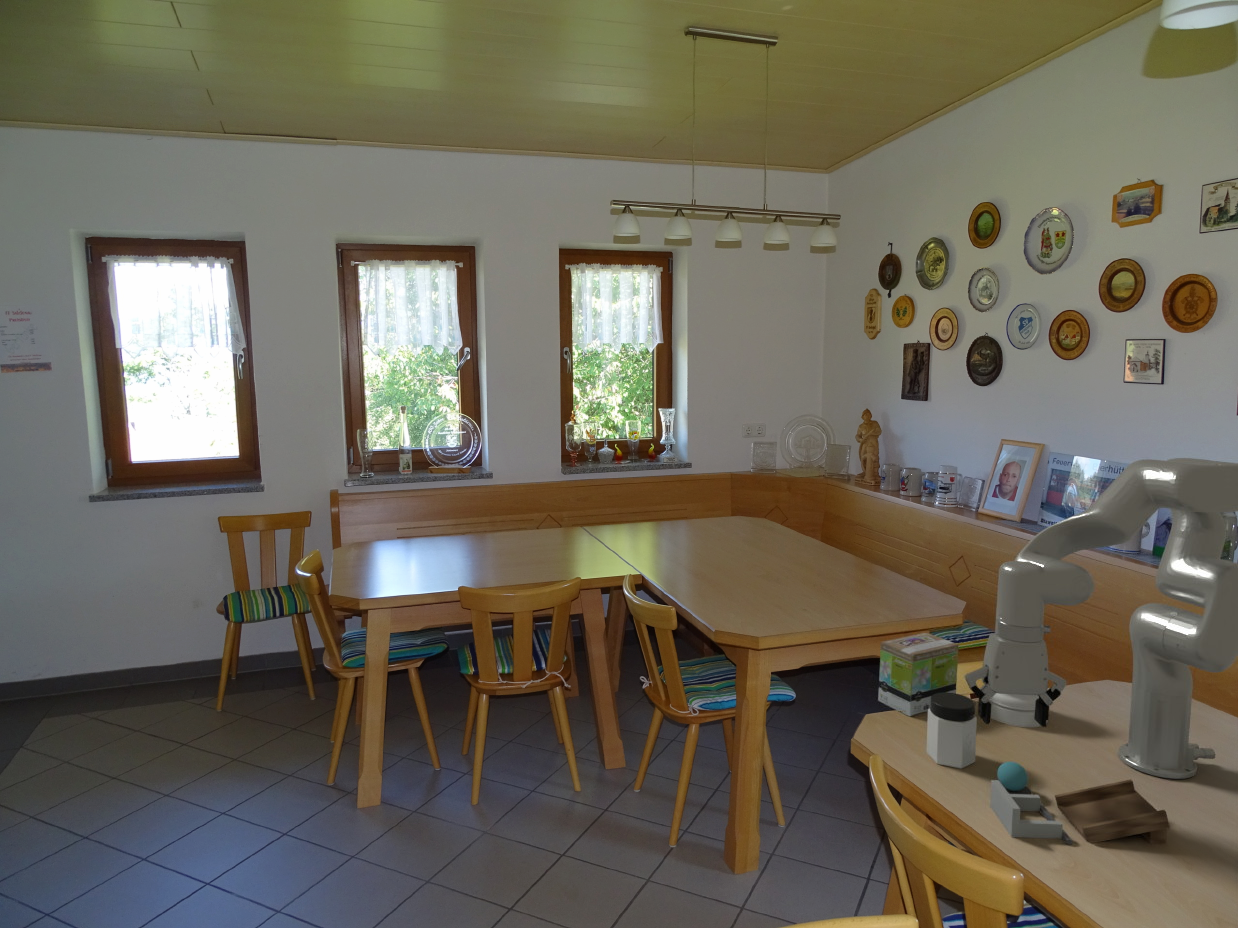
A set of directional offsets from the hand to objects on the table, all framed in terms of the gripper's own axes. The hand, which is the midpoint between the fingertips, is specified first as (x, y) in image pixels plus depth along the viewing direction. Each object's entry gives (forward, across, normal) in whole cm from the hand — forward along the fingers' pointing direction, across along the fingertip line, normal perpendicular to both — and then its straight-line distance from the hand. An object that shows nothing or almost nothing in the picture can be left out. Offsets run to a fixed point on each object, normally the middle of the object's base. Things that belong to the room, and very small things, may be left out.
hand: (1012, 722), depth 140 cm
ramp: (+13, -13, +10) cm, 21 cm away
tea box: (+13, +5, -38) cm, 41 cm away
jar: (+14, +6, -12) cm, 19 cm away
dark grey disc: (+13, -1, 0) cm, 13 cm away
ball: (+10, -1, 0) cm, 11 cm away
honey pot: (+13, -15, -33) cm, 39 cm away
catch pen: (+14, +1, +10) cm, 17 cm away
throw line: (+13, -3, +10) cm, 17 cm away
